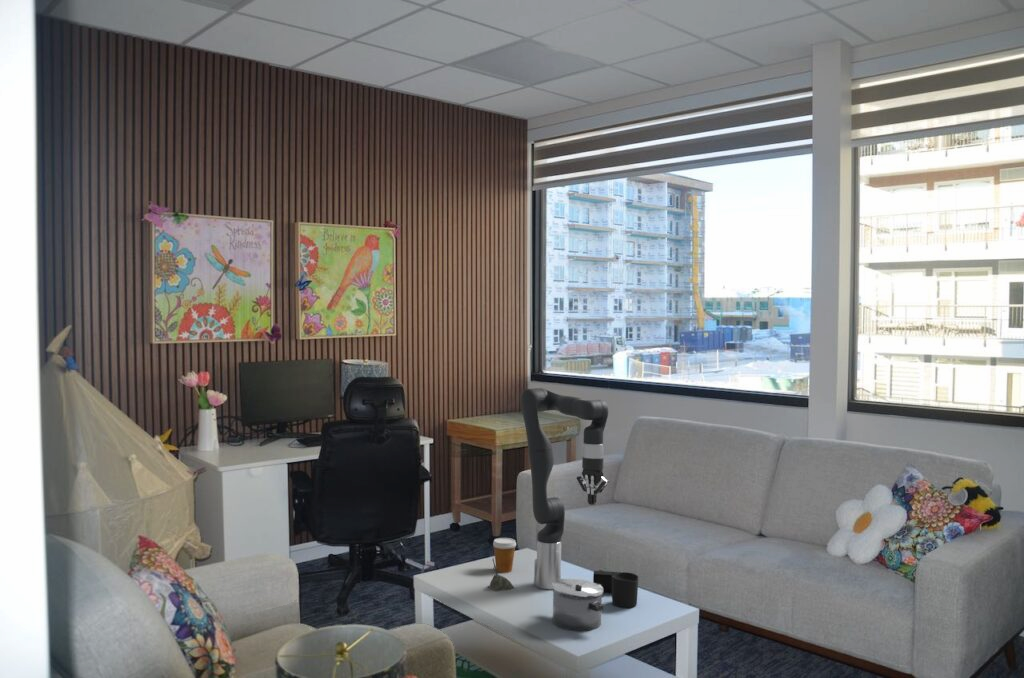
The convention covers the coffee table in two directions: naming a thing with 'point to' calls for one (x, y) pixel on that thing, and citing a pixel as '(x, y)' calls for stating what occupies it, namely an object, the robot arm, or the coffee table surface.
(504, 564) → the disposable coffee cup
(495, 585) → the sword in stone
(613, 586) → the pen holder
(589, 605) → the cooker pot
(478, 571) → the coffee table surface
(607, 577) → the digital camera
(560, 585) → the cooker lid
